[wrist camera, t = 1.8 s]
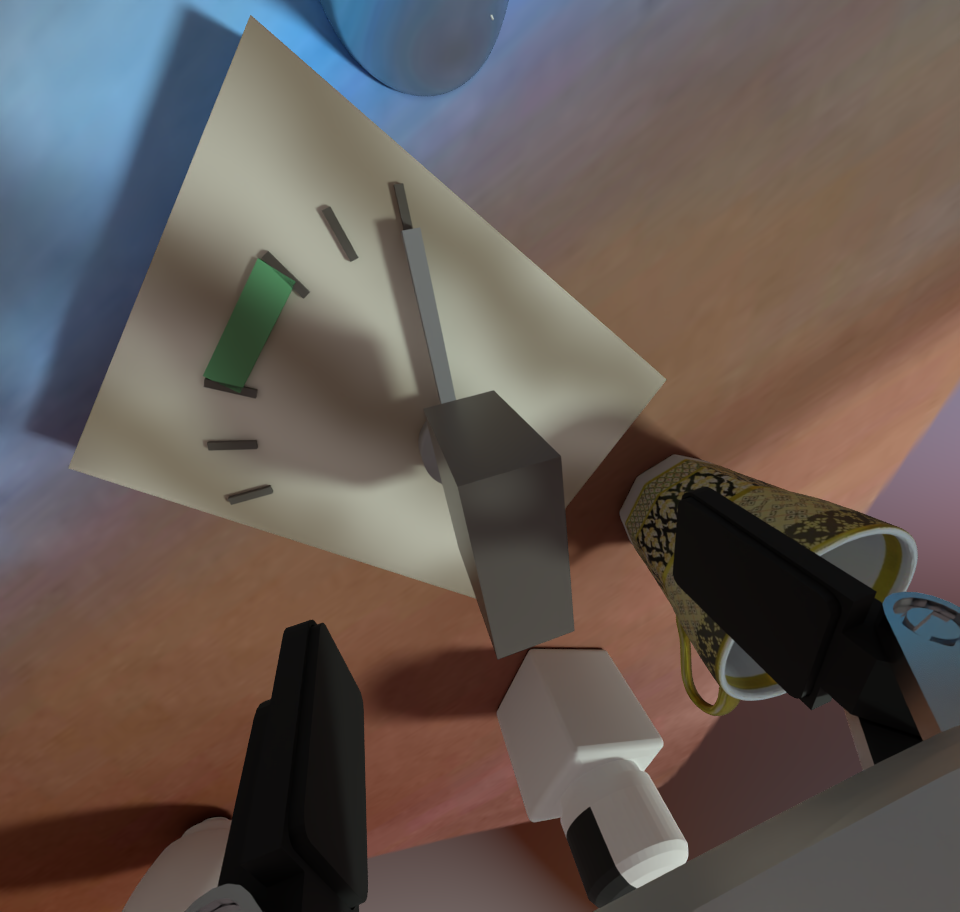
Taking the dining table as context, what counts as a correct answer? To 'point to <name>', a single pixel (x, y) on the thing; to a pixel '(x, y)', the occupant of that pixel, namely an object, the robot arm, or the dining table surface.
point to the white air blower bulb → (183, 869)
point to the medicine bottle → (590, 768)
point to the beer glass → (418, 39)
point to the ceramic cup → (808, 520)
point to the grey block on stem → (496, 494)
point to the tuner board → (336, 334)
